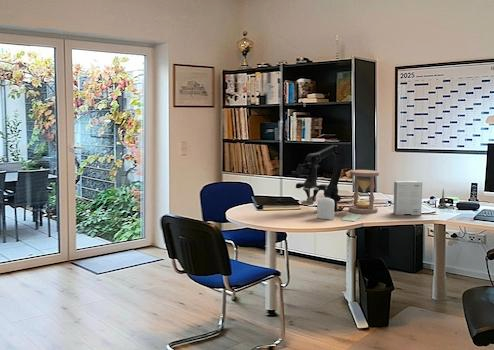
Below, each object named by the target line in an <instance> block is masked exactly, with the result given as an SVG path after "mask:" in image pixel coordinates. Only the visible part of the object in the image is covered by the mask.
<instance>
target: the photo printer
mask: <svg viewBox="0 0 494 350" xmlns="http://www.w3.org/2000/svg"><path fill="white" fill-rule="evenodd" d="M316 205H317V207H316V208H317V209H316V218H317V219H323V220H329V221H334V219H335V211H334V205H335V202H334V200H333V199H330V198H325V197H319V198H318V199H317V204H316Z"/></svg>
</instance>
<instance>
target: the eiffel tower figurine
mask: <svg viewBox="0 0 494 350" xmlns="http://www.w3.org/2000/svg"><path fill="white" fill-rule="evenodd" d="M444 192H445V191H444V189H442V195H441V199H440V203H439V205H438V206H437V208H436V209H443V210H453V209H455V208H454V207H448V206H447V204H446V201H445V197H444V196H445V195H444ZM440 206H441V207H440ZM443 207H444V208H443ZM445 207H448V208H445Z"/></svg>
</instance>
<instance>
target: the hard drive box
mask: <svg viewBox="0 0 494 350" xmlns="http://www.w3.org/2000/svg"><path fill="white" fill-rule="evenodd" d="M422 197H423V182H421V181H419V180H394V181H393V214H394V215H395V216H396V215H397V216H398V215H399V216H401V215H402V216H404V214H411V215H410V216H421V215H422V205H423V204H422V200H423V199H422Z"/></svg>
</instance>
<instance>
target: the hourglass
mask: <svg viewBox="0 0 494 350" xmlns="http://www.w3.org/2000/svg"><path fill="white" fill-rule="evenodd" d="M349 175H350V176H354V182H353V186H354V187H353V188H354V192H353V205H350V206H349V207H348V211H349V212H352V213H355V214H364V215H365V214H368V215H369V214H376V213H378V211H379V209H378V207H377V206H374V202H375V195H374V190H375V177H377V176H379V175H380V171H378V170H373V169H372V170H370V169H353V170H350V171H349ZM359 177H364V178H359ZM365 177H367V178H365ZM368 177H370V178H368ZM359 186H360V189H361V190H362V193H366V190H367V188H369V196H368V199H369V200H368V201H365V200H362V201H359ZM358 201H359V202H358Z"/></svg>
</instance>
